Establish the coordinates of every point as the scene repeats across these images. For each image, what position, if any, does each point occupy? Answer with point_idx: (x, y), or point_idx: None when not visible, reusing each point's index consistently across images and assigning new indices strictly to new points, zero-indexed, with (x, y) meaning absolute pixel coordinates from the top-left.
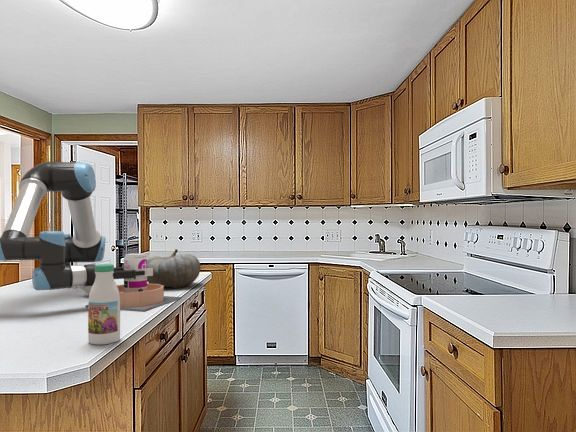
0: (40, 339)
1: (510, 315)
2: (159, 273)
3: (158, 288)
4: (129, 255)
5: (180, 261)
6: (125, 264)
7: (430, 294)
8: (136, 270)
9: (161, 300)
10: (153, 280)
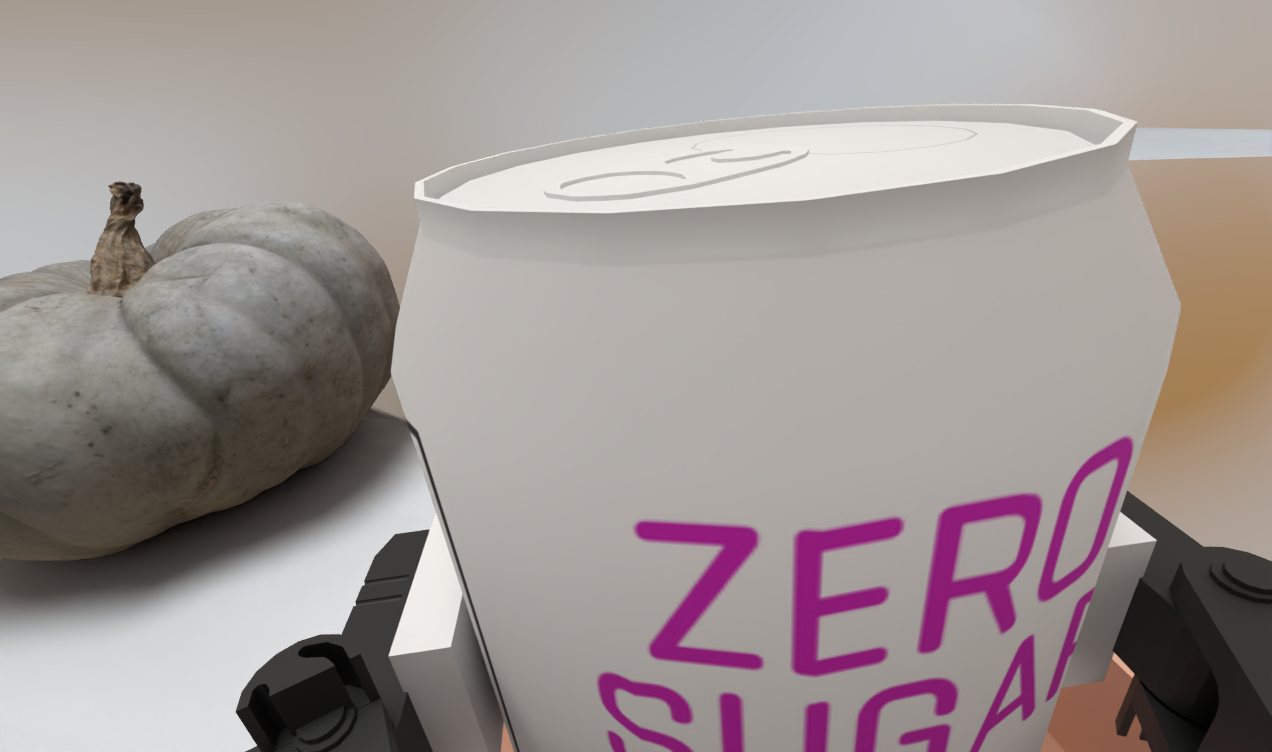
0: None
1: (1165, 142)
2: (223, 421)
3: None
4: (1102, 170)
5: (338, 253)
6: (993, 647)
7: None
8: (1121, 537)
9: None
10: (141, 512)
